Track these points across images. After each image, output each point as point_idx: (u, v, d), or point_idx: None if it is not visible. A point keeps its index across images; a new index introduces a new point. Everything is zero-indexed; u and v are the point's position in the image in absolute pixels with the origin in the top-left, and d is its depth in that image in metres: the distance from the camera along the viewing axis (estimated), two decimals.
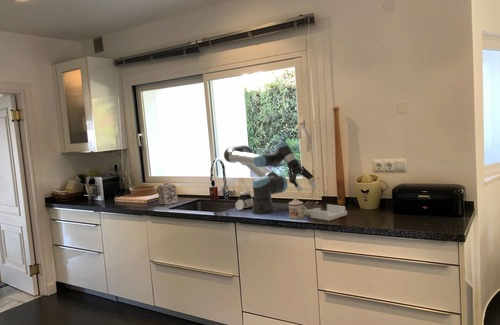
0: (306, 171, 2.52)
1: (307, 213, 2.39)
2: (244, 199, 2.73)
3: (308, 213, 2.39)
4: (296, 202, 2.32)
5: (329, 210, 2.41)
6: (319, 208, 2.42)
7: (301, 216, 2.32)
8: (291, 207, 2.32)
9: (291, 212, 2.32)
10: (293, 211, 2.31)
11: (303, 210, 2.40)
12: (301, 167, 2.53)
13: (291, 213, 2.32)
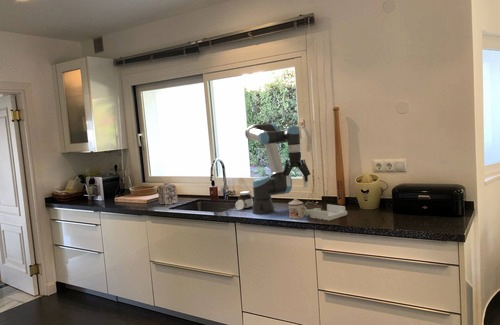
0: (303, 167, 2.27)
1: (307, 213, 2.39)
2: (244, 199, 2.73)
3: (308, 213, 2.39)
4: (296, 202, 2.32)
5: (329, 210, 2.41)
6: (319, 208, 2.42)
7: (301, 216, 2.32)
8: (291, 207, 2.32)
9: (291, 212, 2.32)
10: (293, 211, 2.31)
11: (303, 210, 2.40)
12: None
13: (291, 213, 2.32)
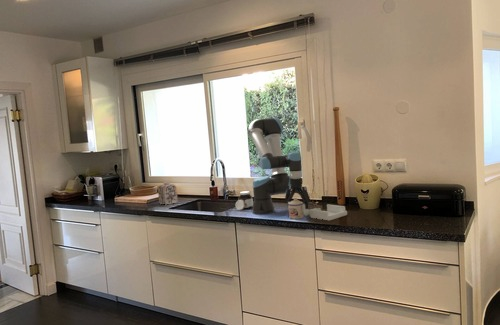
0: (304, 194, 2.28)
1: None
2: (244, 199, 2.73)
3: (308, 213, 2.39)
4: (296, 202, 2.32)
5: (329, 210, 2.41)
6: (319, 208, 2.42)
7: (301, 216, 2.32)
8: (291, 207, 2.32)
9: (291, 212, 2.32)
10: (293, 211, 2.31)
11: (303, 210, 2.40)
12: (302, 187, 2.29)
13: (291, 213, 2.32)
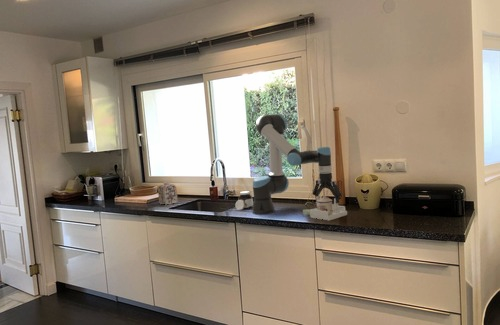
0: (334, 188, 2.26)
1: (307, 213, 2.39)
2: (244, 199, 2.73)
3: (308, 213, 2.39)
4: (325, 199, 2.30)
5: None
6: None
7: (330, 213, 2.30)
8: (320, 204, 2.30)
9: (320, 209, 2.31)
10: (322, 208, 2.30)
11: (303, 210, 2.40)
12: (332, 182, 2.27)
13: None
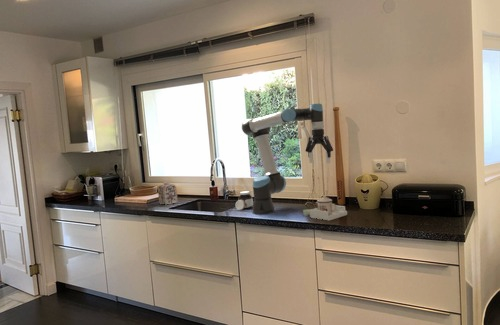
0: (326, 143, 2.34)
1: (307, 213, 2.39)
2: (244, 199, 2.73)
3: (308, 213, 2.39)
4: (325, 199, 2.30)
5: None
6: None
7: (330, 213, 2.30)
8: (320, 204, 2.30)
9: (320, 209, 2.31)
10: (322, 208, 2.30)
11: (303, 210, 2.40)
12: None
13: None
